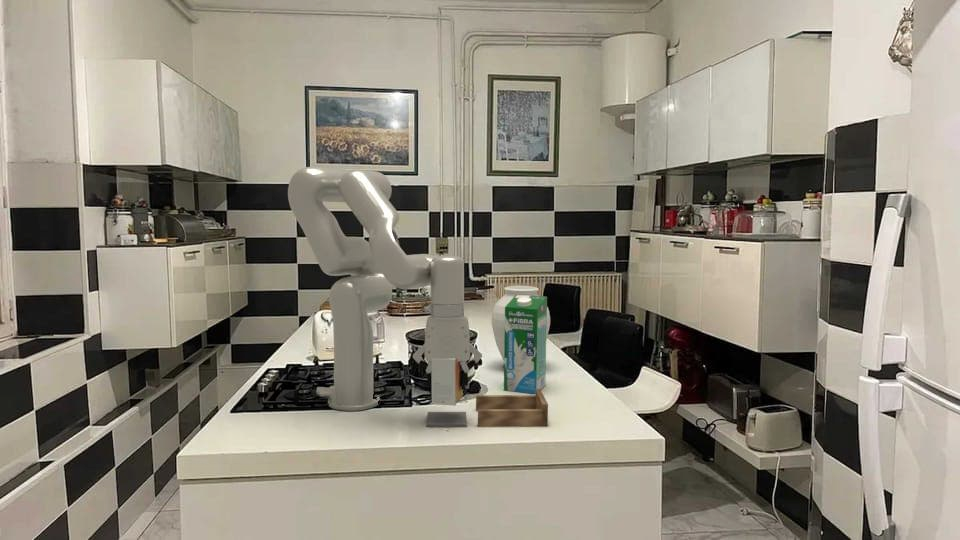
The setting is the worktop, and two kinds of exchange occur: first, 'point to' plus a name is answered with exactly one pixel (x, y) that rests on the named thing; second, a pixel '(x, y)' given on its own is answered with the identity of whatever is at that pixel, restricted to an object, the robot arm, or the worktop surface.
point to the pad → (446, 419)
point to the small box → (446, 381)
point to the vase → (499, 313)
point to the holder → (512, 410)
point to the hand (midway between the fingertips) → (447, 388)
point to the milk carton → (525, 344)
